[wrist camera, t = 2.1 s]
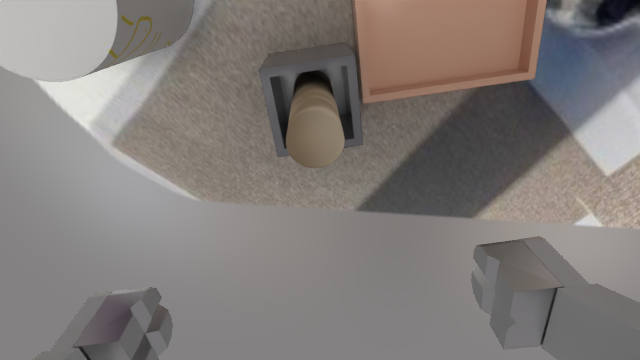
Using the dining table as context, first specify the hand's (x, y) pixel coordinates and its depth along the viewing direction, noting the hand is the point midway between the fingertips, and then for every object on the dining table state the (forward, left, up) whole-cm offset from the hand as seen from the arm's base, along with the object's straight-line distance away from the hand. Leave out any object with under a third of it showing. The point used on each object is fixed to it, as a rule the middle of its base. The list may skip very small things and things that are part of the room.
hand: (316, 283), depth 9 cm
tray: (-11, -4, -24) cm, 26 cm away
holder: (0, 0, -24) cm, 24 cm away
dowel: (0, 0, -23) cm, 23 cm away
